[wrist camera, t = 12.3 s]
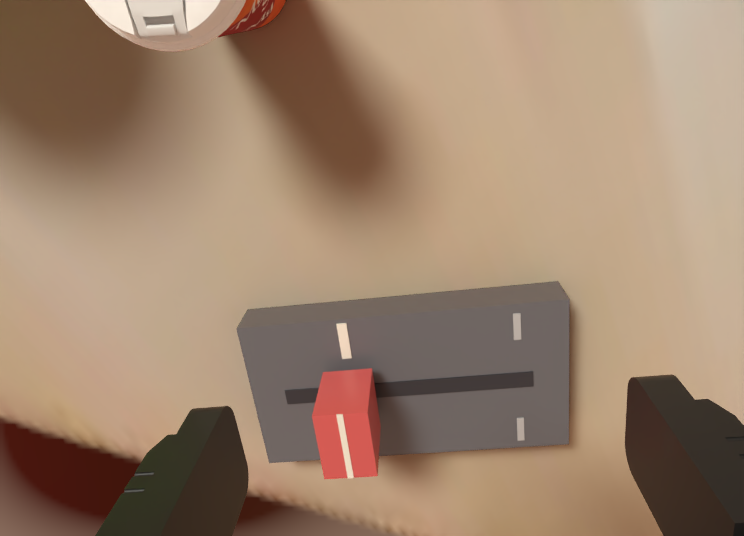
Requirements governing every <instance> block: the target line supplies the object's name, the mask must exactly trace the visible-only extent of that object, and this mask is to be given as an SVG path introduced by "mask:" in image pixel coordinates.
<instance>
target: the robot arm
mask: <svg viewBox="0 0 744 536" xmlns="http://www.w3.org/2000/svg"><path fill="white" fill-rule="evenodd" d="M625 449H626V456H627V461H628V464H629V468H630V471H631V473H632V475H633V477H634V479H635V481H636V483H637V485H638V487H639V489H640V491H641V493H642V495H643V497H644V499H645V501H646V503H647V504H648V506H649V508H650V510H651V512H652V514H653V516H654V518H655V520H656V522H657V524H658V526H659V528H660V530H661V531H662V533H663V535H664V536H744V425H743V424H742V423H741V422H740V421H739V420H738V419H737V417H736V416H735V415H733V414H732V413H730V412H728V411H727V410H725V409H723V408H722V407H720V406H719V405H717V404H715V403H714V402H712V401H710V400H709V399H701V400H694V398H693V397H692V396H691V395H690V393H689V392H688V391H687V390H686V388H685V387H684V386H683V385H682V383H681V382H680V381H679V380H678V378H677V377H676V376H674V375H660V376H646V377H633V378H631V379H630V380H629V383H628V392H627V412H626V432H625ZM247 489H248V466H247V461H246V458H245V454H244V450H243V446H242V442H241V439H240V435H239V431H238V427H237V423H236V420H235V416H234V413H233V411H232V409H231V408H230V407H229V406H223V407H209V408H196V409H192V410H191V411H190V412H189V414H188V415H187V417H186V419H185V421H184V422H183V424H182V426H181V427H180V429H179V431H178V433H177V434H175V435H167V436H166V437H165V438H164V439H163V440H161V441H160V442H159V443H158V444H157V445H156V446H155V447H153V448H152V449H151V450H150V451H149V452H148V453H147V454H146V456H145V457H144V459H143V460H142V462H141V464H140V465H139V467H138V468H137V470H136V472H135V477H132V478H131V480H130V481H129V483H128V484H127V486H126V488H125V489H124V490H125V492H124V494H121V496H120V497H119V499H118V500H117V502H116V504H115V505H114V507H113V508H112V510H111V512H110V513H109V515H108V516H107V518H106V519H105V521H104V523H103V524H102V526H101V528H100V529H99V531H98V532H97V534H96V536H232V534H233V531H234V529H235V526H236V523H237V520H238V517H239V514H240V511H241V509H242V506H243V503H244V500H245V497H246V494H247Z"/></svg>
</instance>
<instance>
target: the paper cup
mask: <svg viewBox="0 0 744 536" xmlns="http://www.w3.org/2000/svg"><path fill="white" fill-rule="evenodd" d="M85 1H86V3H87V4H88V5H89V6H90V7H91V9H92V10H93V11H94V12H95V14H96V15H97V16H98V17H99V18H100V19H101V20H102V21H103V22H104V23H105V24H106V25H107V26H108V27H110V28H111V29H112V30H114V31H115V32H116V33H118V34H119V35H120V36H122V37H124V38H125V39H127V40H129V41H131V42H133V43H135V44H137V45H140V46H143V47H146V48H148V49H154V50H159V51H172V52H178V51H184V50H191V49H194V48H197V47H200V46H203V45H205V44H207V43H208V42H210V41H212V40H214V39H216V38H217V37H221V36H225V35H229V34H234V33H240V32H244V31H249V30H253V29H256V28H259V27H262V26H264V25H266V24H268V23H269V22H271V21H272V20H273V19H274V18H275V17H276V16H277V15H278V14H279V12H280V11H281V9H282V8H283V6H284V4H285V1H286V0H85Z"/></svg>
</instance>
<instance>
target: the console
mask: <svg viewBox="0 0 744 536" xmlns="http://www.w3.org/2000/svg"><path fill="white" fill-rule="evenodd" d="M237 333H238V337H239V341H240V345H241V349H242V353H243V357H244V361H245V365H246V370H247V374H248V378H249V382H250V386H251V390H252V394H253V398H254V402H255V406H256V410H257V415H258V419H259V423H260V427H261V431H262V435H263V439H264V443H265V447H266V451H267V456H268V460H269V463H276V462H292V461H308V460H321V459H320V454H319V449H318V444H317V439H316V434H315V429H314V424H313V419H312V414H313V410H314V406H315V402H316V398H317V394H318V390H319V386H320V382H321V378H322V374H323V372H331V371H344V370H357V369H369V368H372V371H373V378H374V384H375V391H376V398H377V405H378V412H379V418H380V425H381V430H380V445H379V456H387V455H403V454H419V453H435V452H451V451H467V450H483V449H499V448H515V447H531V446H547V445H563V444H569V298H568V296H567V295H566V293H565V291H564V290H563V288H562V287H561V285H560V283H559V282H558V281H557V282H546V283H535V284H524V285H513V286H502V287H491V288H480V289H469V290H458V291H447V292H436V293H425V294H414V295H403V296H393V297H382V298H371V299H360V300H349V301H338V302H327V303H316V304H305V305H294V306H283V307H272V308H261V309H250V310H247V312H246V313H245V315H244V317H243V318H242V320H241V322H240V323H239V325H238V327H237Z"/></svg>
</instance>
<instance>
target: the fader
mask: <svg viewBox="0 0 744 536" xmlns="http://www.w3.org/2000/svg"><path fill="white" fill-rule="evenodd" d="M312 419H313V424H314V429H315V434H316V439H317V444H318V449H319V454H320V459H321V464H322V469H323V474H324V479H336V478H354V477H370V476H378V461H379V445H380V430H381V425H380V418H379V412H378V405H377V398H376V391H375V384H374V378H373V371H372V368H369V369H357V370H344V371H331V372H323V374H322V378H321V382H320V386H319V390H318V394H317V398H316V402H315V406H314V410H313V414H312Z"/></svg>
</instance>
